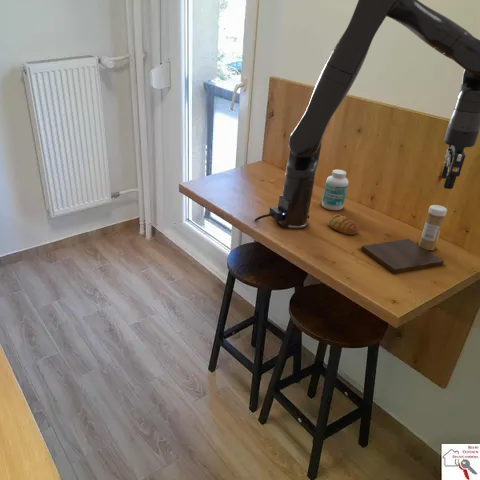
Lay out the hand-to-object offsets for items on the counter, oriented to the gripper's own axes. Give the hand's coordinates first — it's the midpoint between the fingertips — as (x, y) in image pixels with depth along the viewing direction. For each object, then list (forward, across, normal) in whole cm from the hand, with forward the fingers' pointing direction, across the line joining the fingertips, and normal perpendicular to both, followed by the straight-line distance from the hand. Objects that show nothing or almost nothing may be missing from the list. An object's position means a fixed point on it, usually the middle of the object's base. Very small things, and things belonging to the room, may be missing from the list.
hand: (446, 183), depth 135 cm
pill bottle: (+21, -20, -30) cm, 41 cm away
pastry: (+21, -3, -25) cm, 33 cm away
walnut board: (+21, +10, -7) cm, 24 cm away
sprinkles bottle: (+21, 0, 0) cm, 21 cm away
